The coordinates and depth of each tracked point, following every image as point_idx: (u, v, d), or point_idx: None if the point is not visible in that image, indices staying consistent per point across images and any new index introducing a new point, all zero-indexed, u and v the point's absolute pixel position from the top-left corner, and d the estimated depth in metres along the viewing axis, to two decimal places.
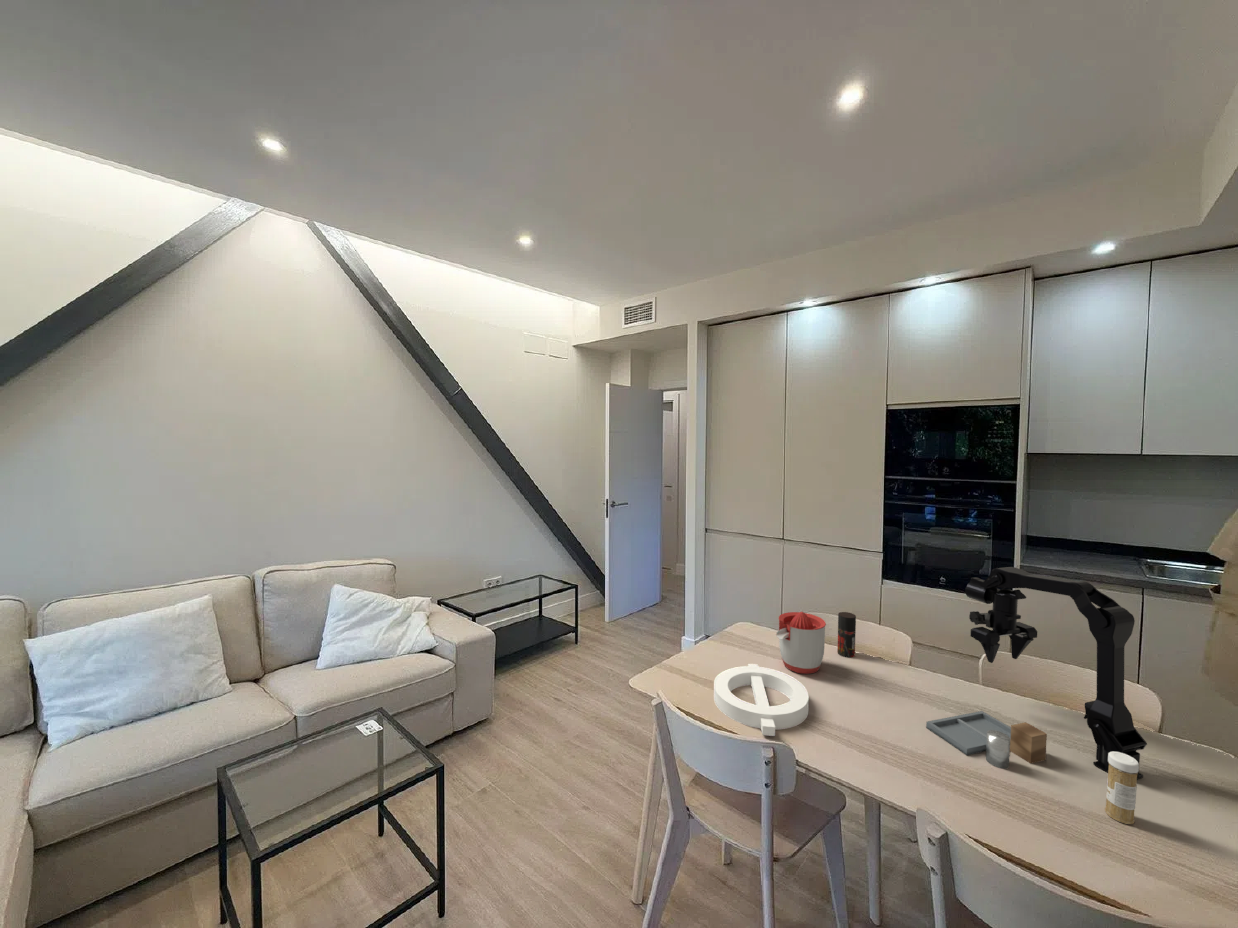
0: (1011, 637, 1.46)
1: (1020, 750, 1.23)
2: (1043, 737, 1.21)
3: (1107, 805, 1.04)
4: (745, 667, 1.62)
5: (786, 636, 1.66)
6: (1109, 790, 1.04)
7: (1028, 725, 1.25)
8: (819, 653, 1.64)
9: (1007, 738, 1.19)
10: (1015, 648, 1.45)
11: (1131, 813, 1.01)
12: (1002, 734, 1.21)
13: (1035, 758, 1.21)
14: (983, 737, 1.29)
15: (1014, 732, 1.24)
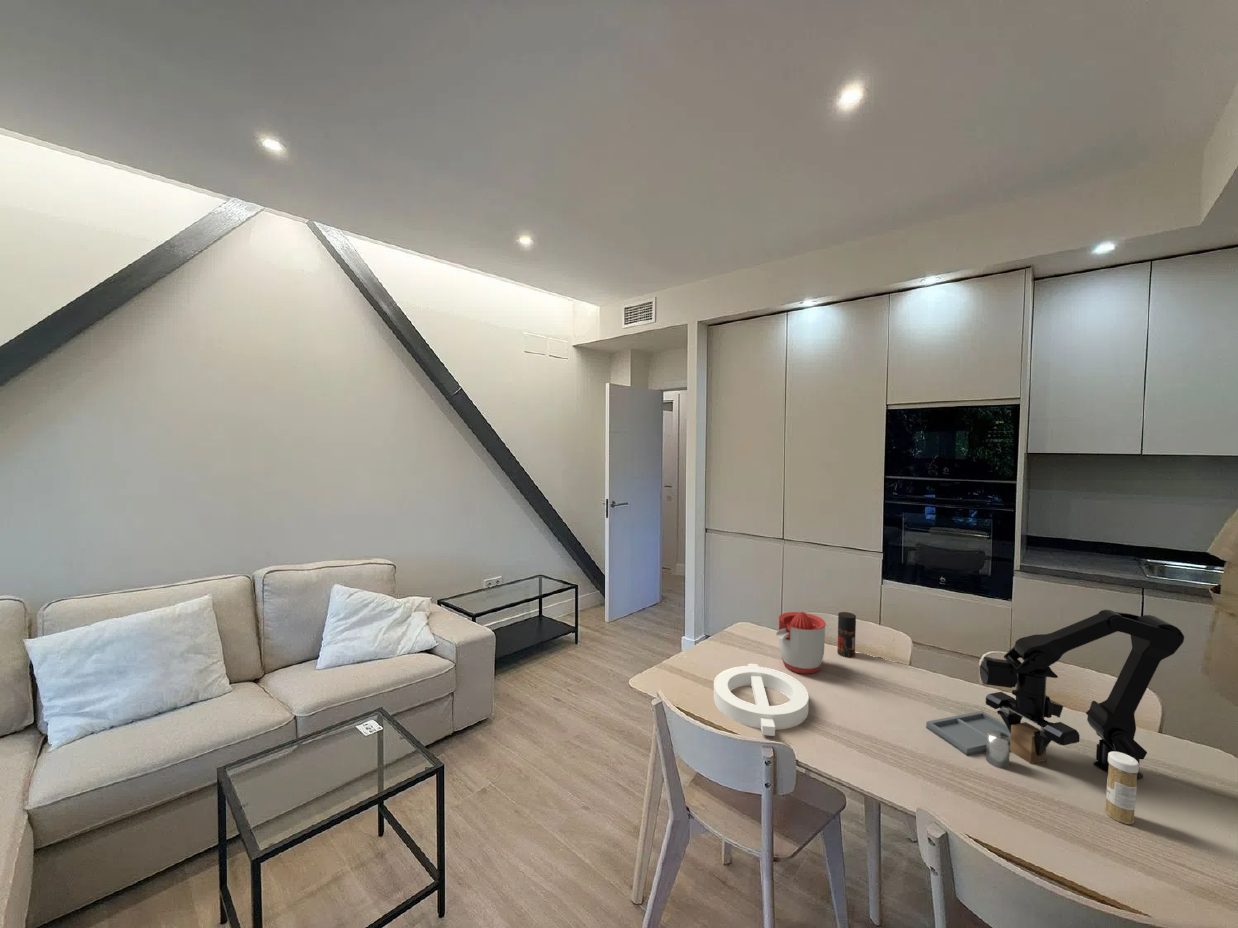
0: None
1: (1020, 750, 1.23)
2: None
3: (1107, 805, 1.04)
4: (745, 667, 1.62)
5: (786, 636, 1.66)
6: (1109, 790, 1.04)
7: (1028, 725, 1.25)
8: (819, 653, 1.64)
9: (1007, 738, 1.19)
10: None
11: (1131, 813, 1.01)
12: (1002, 734, 1.21)
13: (1035, 758, 1.21)
14: (983, 737, 1.29)
15: (1014, 732, 1.24)
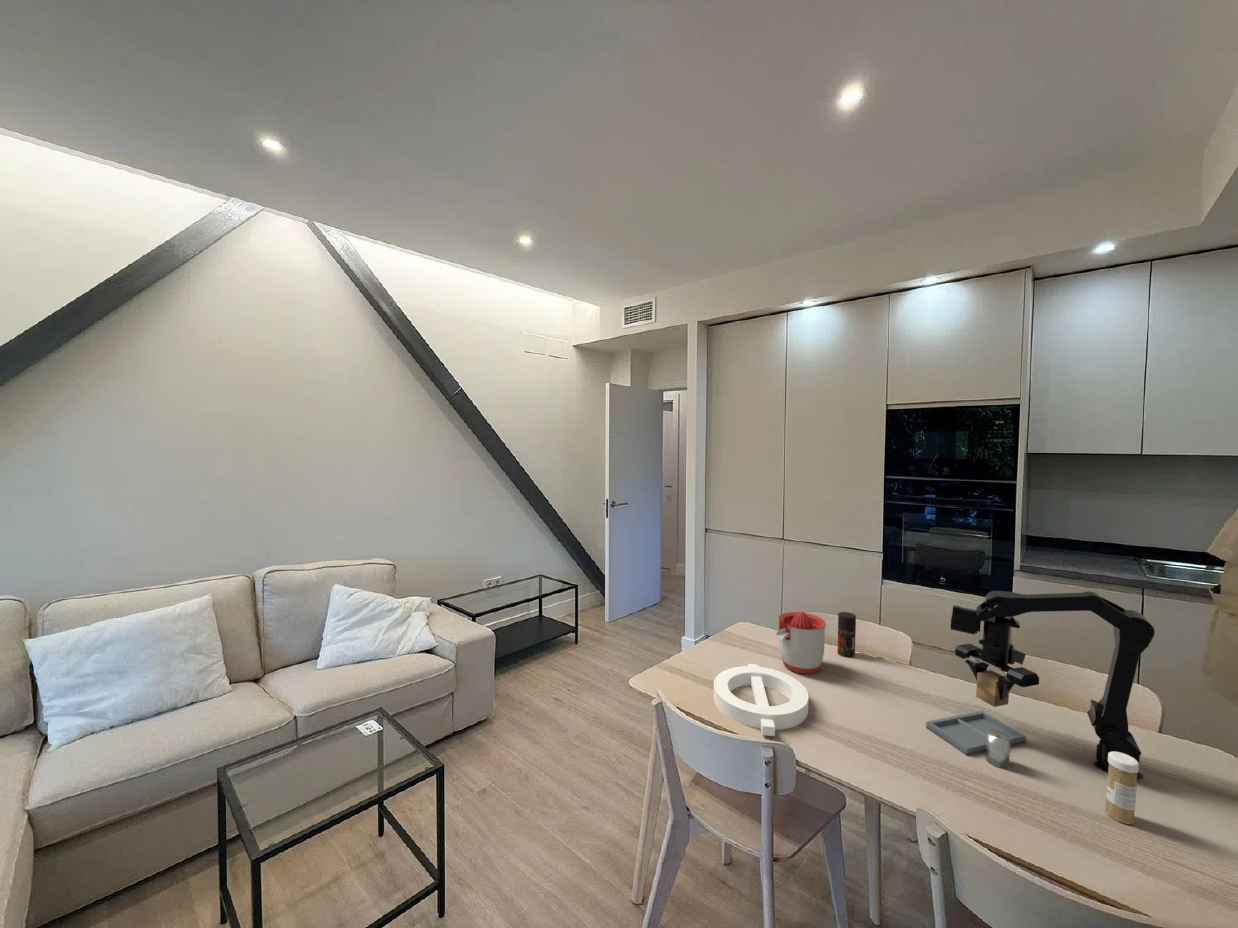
0: None
1: (985, 695, 1.31)
2: None
3: (1107, 805, 1.04)
4: (745, 667, 1.62)
5: (786, 636, 1.66)
6: (1109, 790, 1.04)
7: (993, 672, 1.33)
8: (819, 653, 1.64)
9: (1007, 738, 1.19)
10: None
11: (1131, 813, 1.01)
12: (1002, 734, 1.21)
13: (998, 702, 1.29)
14: (983, 737, 1.29)
15: (979, 679, 1.32)
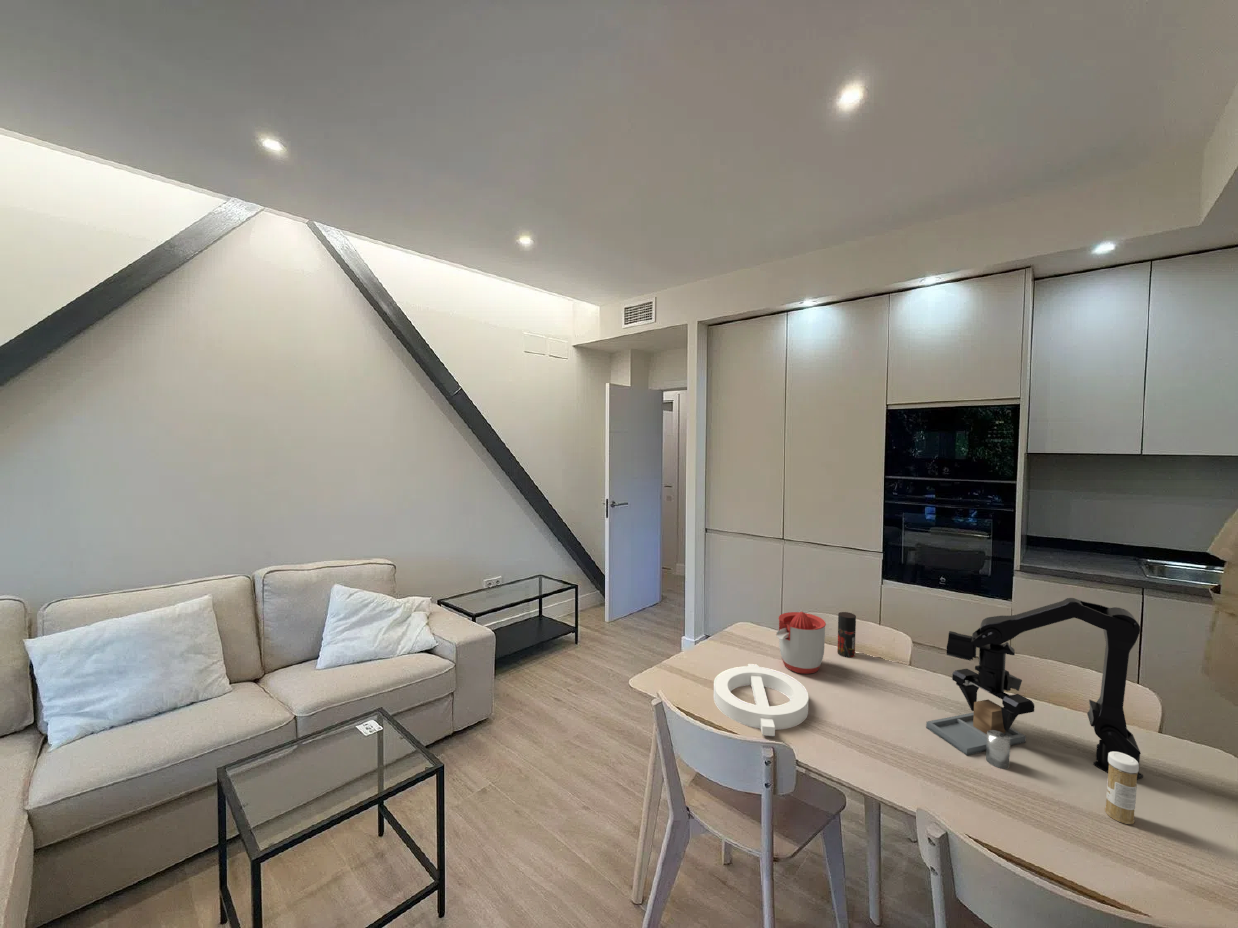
0: None
1: (982, 725, 1.32)
2: None
3: (1107, 805, 1.04)
4: (745, 667, 1.62)
5: (786, 636, 1.66)
6: (1109, 790, 1.04)
7: (990, 702, 1.34)
8: (819, 653, 1.64)
9: (1007, 738, 1.19)
10: None
11: (1131, 813, 1.01)
12: (1002, 734, 1.21)
13: None
14: (983, 737, 1.29)
15: (976, 708, 1.34)
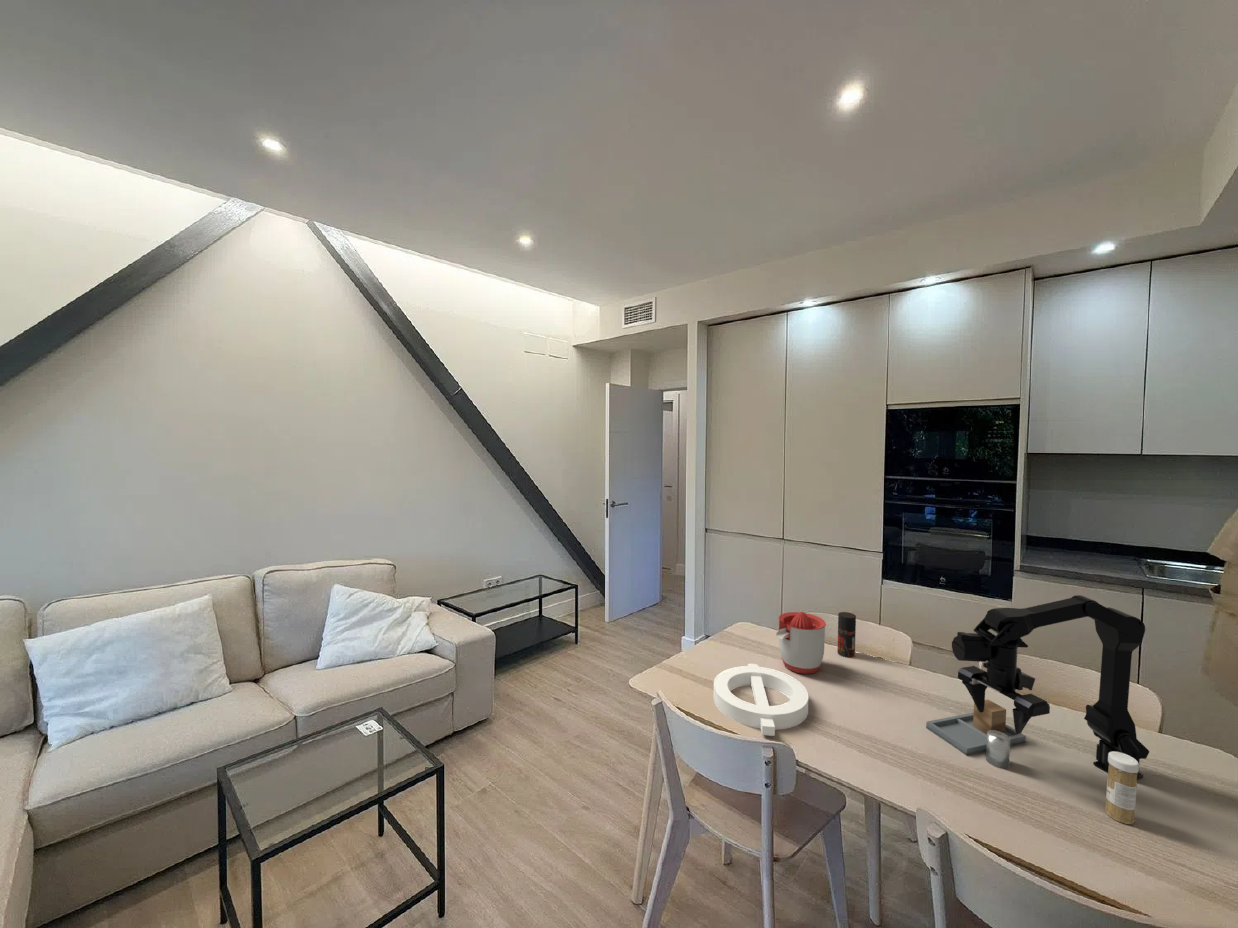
0: None
1: (982, 725, 1.32)
2: (1003, 712, 1.31)
3: (1107, 805, 1.04)
4: (745, 667, 1.62)
5: (786, 636, 1.66)
6: (1109, 790, 1.04)
7: (990, 702, 1.34)
8: (819, 653, 1.64)
9: (1007, 738, 1.19)
10: None
11: (1131, 813, 1.02)
12: (1002, 734, 1.21)
13: None
14: (983, 737, 1.29)
15: (976, 708, 1.34)
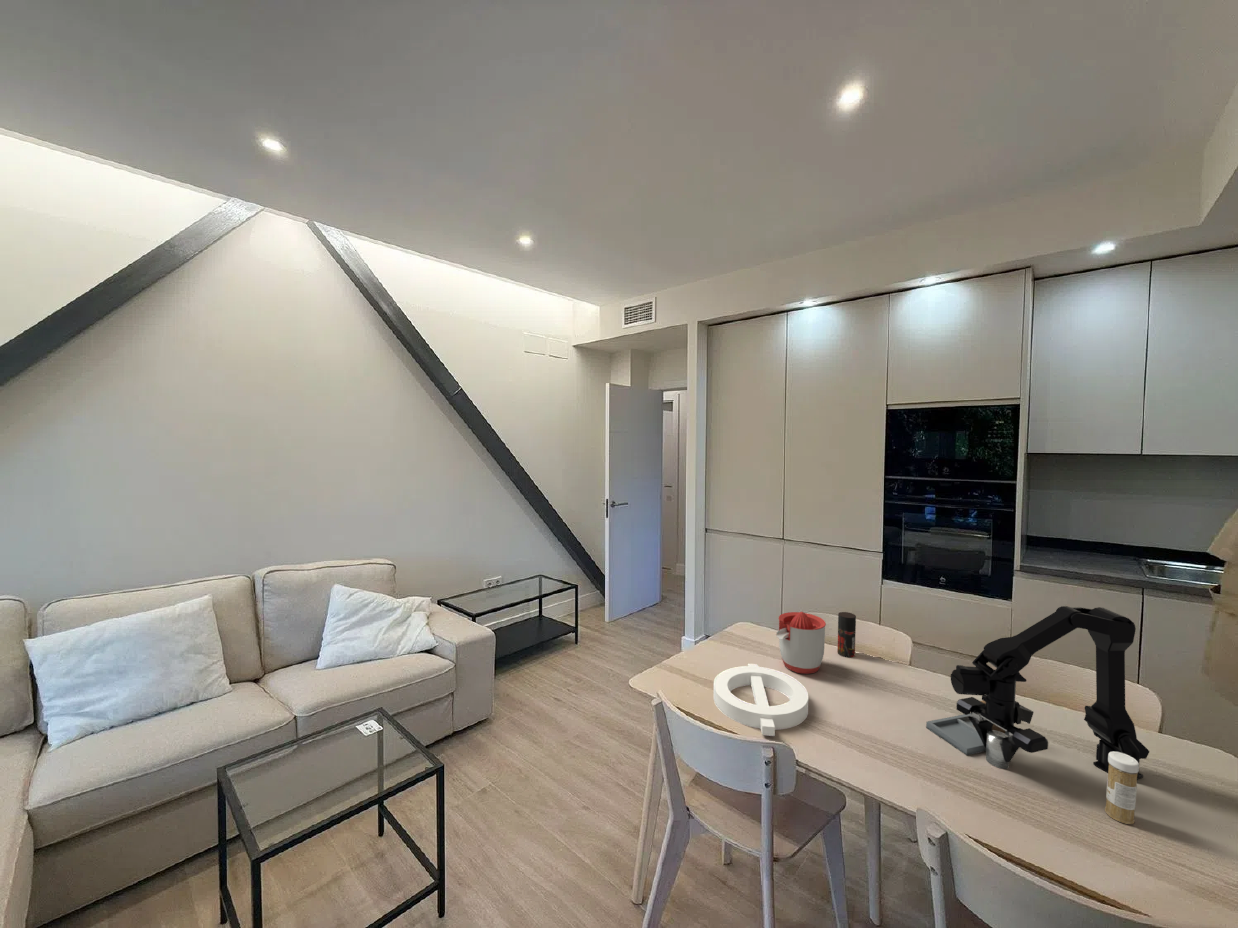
0: None
1: None
2: None
3: (1107, 805, 1.04)
4: (745, 667, 1.62)
5: (786, 636, 1.66)
6: (1109, 790, 1.04)
7: None
8: (819, 653, 1.64)
9: None
10: None
11: (1131, 813, 1.01)
12: (1002, 734, 1.21)
13: None
14: None
15: None
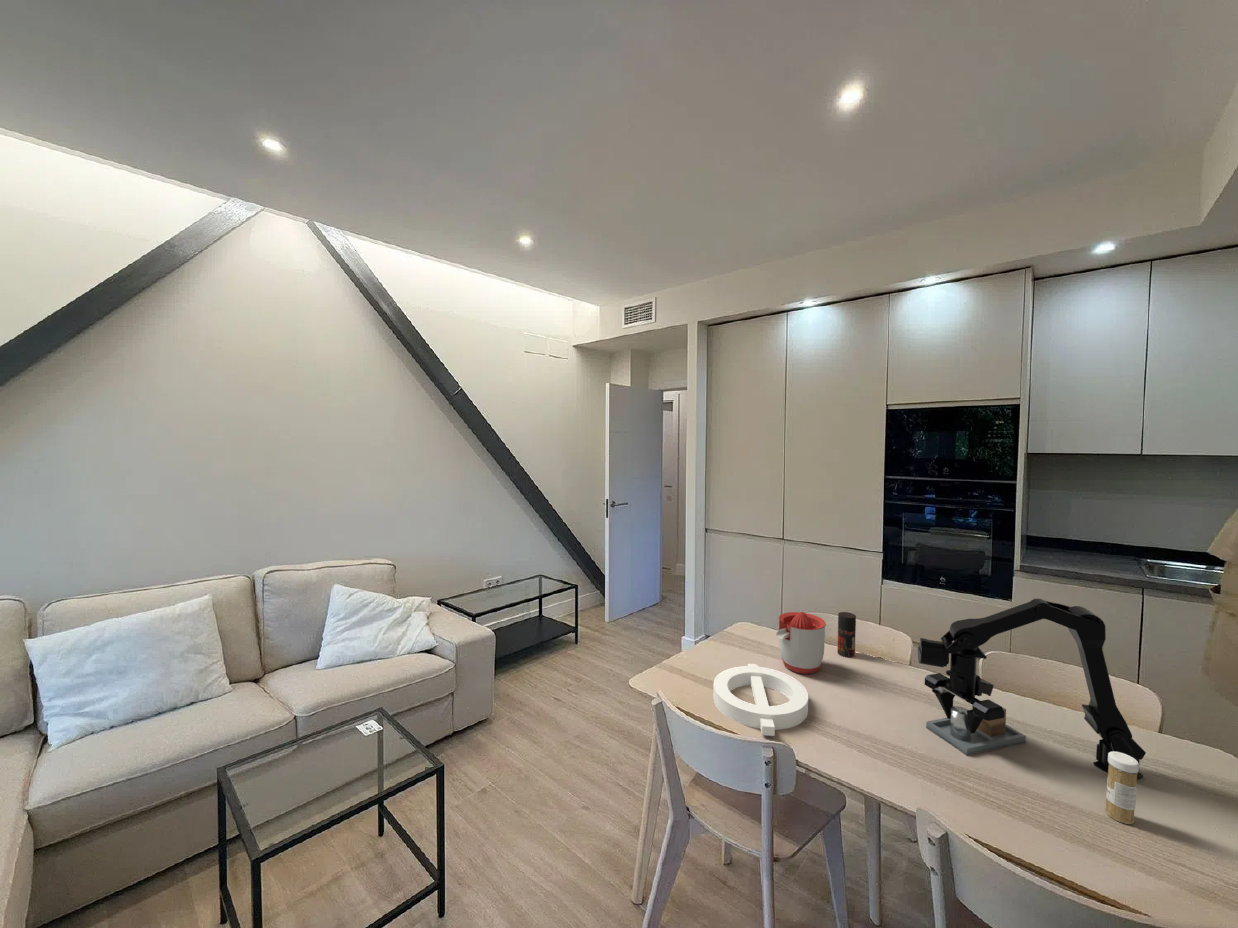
0: None
1: (982, 725, 1.32)
2: None
3: (1107, 805, 1.04)
4: (745, 667, 1.62)
5: (786, 636, 1.66)
6: (1109, 790, 1.04)
7: None
8: (819, 653, 1.64)
9: None
10: None
11: (1131, 813, 1.01)
12: (965, 710, 1.31)
13: (995, 732, 1.30)
14: (983, 737, 1.29)
15: None
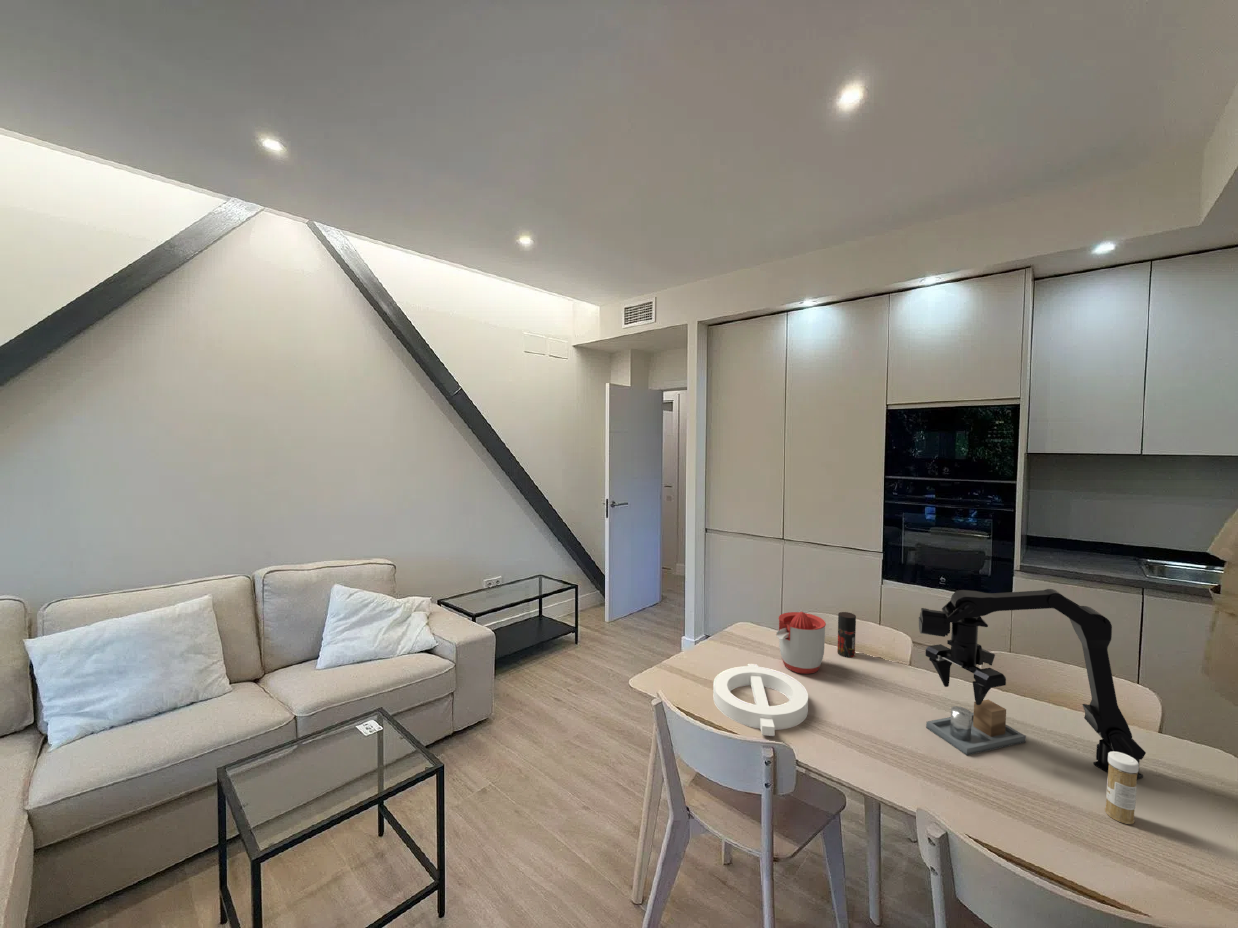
0: None
1: (982, 725, 1.32)
2: (1003, 712, 1.31)
3: (1107, 805, 1.04)
4: (745, 667, 1.62)
5: (786, 636, 1.66)
6: (1109, 790, 1.04)
7: (990, 702, 1.34)
8: (819, 653, 1.64)
9: (969, 713, 1.29)
10: None
11: (1131, 813, 1.01)
12: (965, 710, 1.31)
13: (995, 732, 1.30)
14: (983, 737, 1.29)
15: (976, 708, 1.34)
